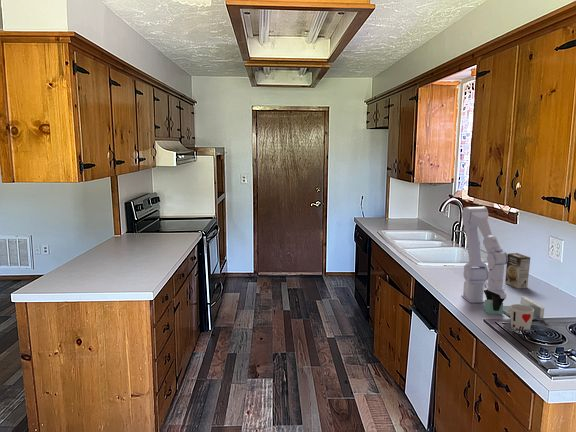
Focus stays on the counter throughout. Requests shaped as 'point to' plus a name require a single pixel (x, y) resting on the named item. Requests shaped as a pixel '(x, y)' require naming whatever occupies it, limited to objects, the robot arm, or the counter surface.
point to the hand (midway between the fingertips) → (493, 308)
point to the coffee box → (517, 270)
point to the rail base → (526, 301)
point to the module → (489, 307)
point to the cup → (521, 317)
